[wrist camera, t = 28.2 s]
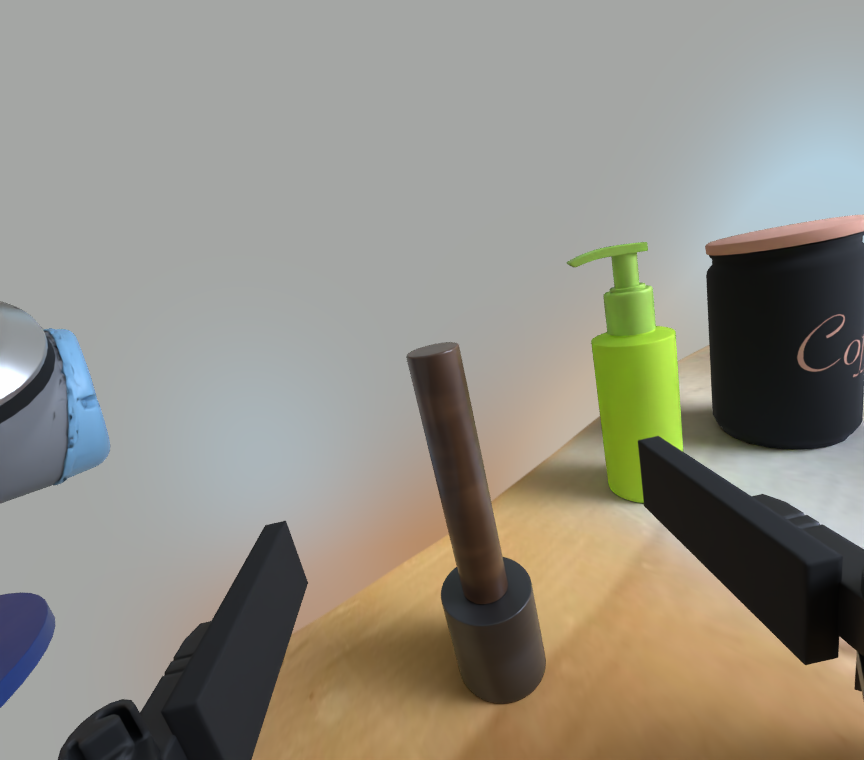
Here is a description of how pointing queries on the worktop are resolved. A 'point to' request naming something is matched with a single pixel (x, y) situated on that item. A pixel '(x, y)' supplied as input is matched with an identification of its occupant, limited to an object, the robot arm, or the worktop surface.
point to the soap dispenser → (633, 372)
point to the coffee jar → (788, 333)
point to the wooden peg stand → (475, 542)
